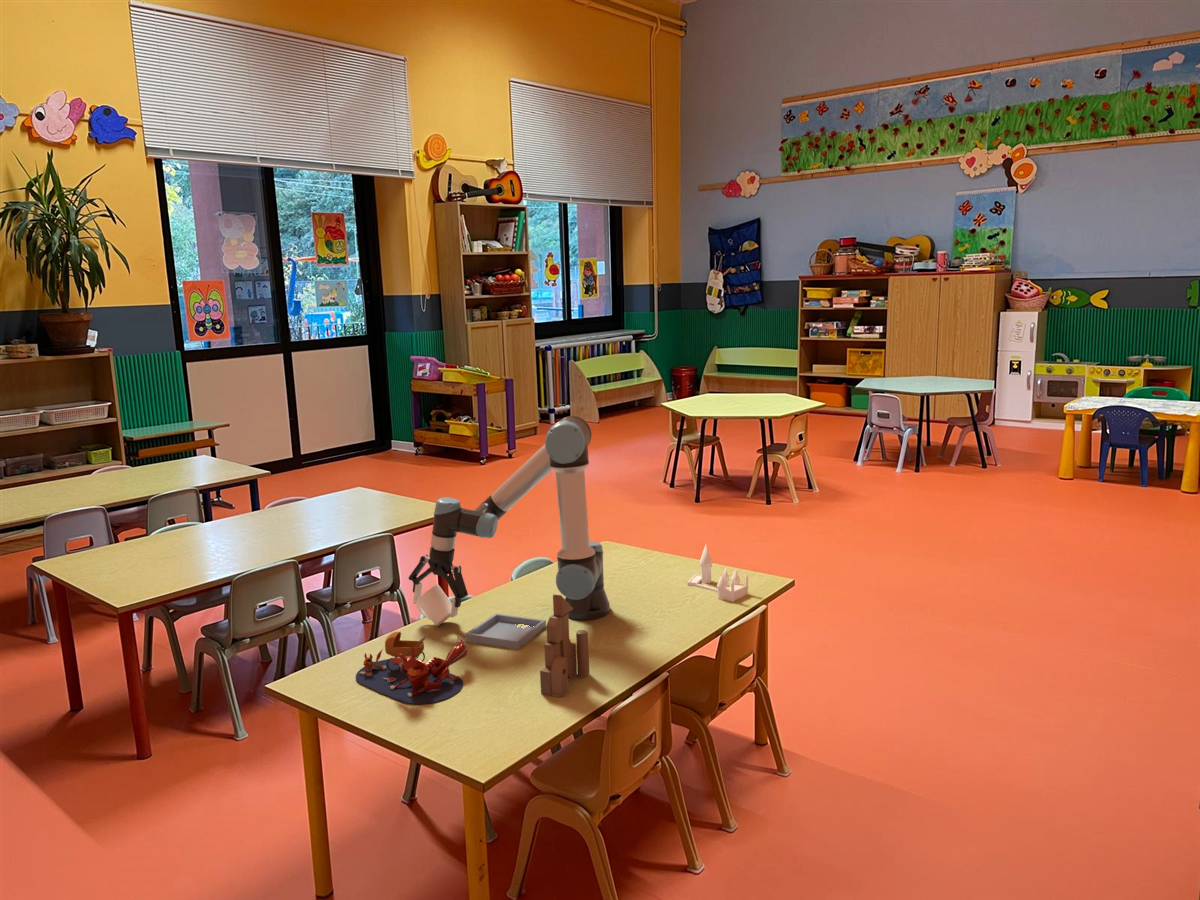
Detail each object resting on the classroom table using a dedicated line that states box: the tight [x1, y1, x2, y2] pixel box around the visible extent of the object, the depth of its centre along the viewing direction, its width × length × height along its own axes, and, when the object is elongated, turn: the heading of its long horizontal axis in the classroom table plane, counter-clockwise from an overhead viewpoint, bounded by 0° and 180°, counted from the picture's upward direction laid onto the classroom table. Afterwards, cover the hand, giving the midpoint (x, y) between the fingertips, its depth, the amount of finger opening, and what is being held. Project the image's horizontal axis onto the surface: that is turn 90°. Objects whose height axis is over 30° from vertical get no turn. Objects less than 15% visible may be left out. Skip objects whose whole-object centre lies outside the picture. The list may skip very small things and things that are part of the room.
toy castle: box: [686, 543, 749, 603], centre depth 301 cm, size 14×25×16 cm, turn 46°
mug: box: [416, 584, 452, 627], centre depth 281 cm, size 11×9×10 cm
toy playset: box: [355, 631, 468, 705], centre depth 245 cm, size 35×26×14 cm
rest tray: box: [464, 613, 547, 650], centre depth 272 cm, size 18×18×3 cm
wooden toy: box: [539, 593, 590, 698], centre depth 235 cm, size 16×7×25 cm, turn 152°
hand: (435, 610), depth 280 cm, fingers closed on mug, 13 cm apart
